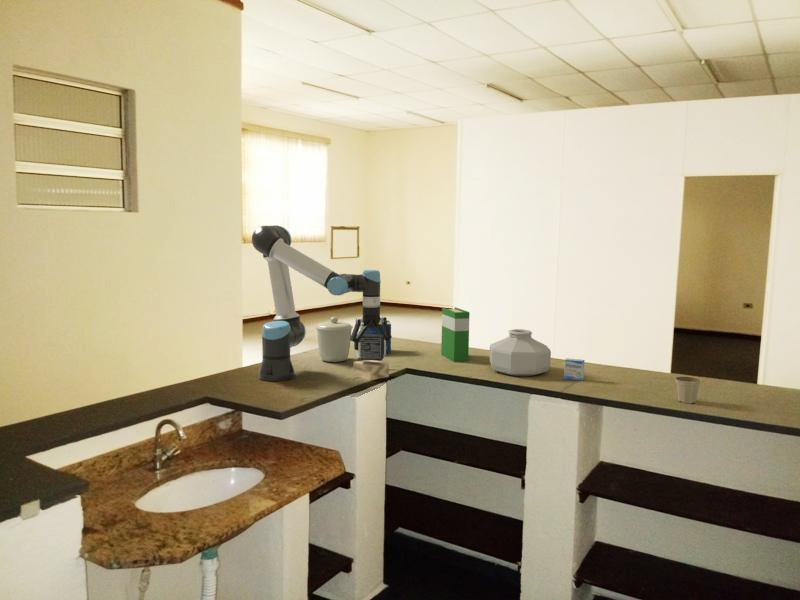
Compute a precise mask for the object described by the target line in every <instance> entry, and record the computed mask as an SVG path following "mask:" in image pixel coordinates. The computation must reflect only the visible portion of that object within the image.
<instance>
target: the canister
mask: <svg viewBox="0 0 800 600" xmlns="http://www.w3.org/2000/svg"><path fill="white" fill-rule="evenodd" d="M314 328H315V329H316V336H317V344H318V352H319V357H320V359H321V360H322V361H324V362H327V363H328V362H329V363H339V362H345V361H346V360H347V359H348V358H349V354H350V347H351V340H350V338H351V335H352V332H353V329H354V326H353V325H352V324H351V323H348V322H344V321H339V318H338V317H337V316H331V317H330V321H324V322H320V323H318V324H317V325H315V326H314Z"/></svg>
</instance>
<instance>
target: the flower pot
mask: <svg viewBox="0 0 800 600" xmlns="http://www.w3.org/2000/svg"><path fill="white" fill-rule="evenodd" d="M674 380H675V383H676V390H677V400H678V402H682V403H684V404H693V403H696V402H697V398H698V393H699V387H700V386H701V383H702V379H701V378H698V377H694V376H686V375H685V376H684V375H683V376H679V375H678V376H675V377H674Z"/></svg>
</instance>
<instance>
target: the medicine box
mask: <svg viewBox="0 0 800 600" xmlns="http://www.w3.org/2000/svg"><path fill="white" fill-rule="evenodd" d="M584 372H585V359H580V358H579V359H578V358H577V359H575V358H565V359H564V370H563V380H565V381H576V382H582V381H583V380H584V377H585V375H584V374H585V373H584Z"/></svg>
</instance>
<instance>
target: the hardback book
mask: <svg viewBox="0 0 800 600" xmlns="http://www.w3.org/2000/svg"><path fill="white" fill-rule="evenodd" d="M469 342H470V312H469V311H467V310H465V309H462V308H459V307H455V306H454V307H453V308H445V307H441V351H440V352H441V353H440V354H441V356H443V357H444V358H446V359H448V360H449V361H452V362H453V363H464V362H469V348H470V343H469Z"/></svg>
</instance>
